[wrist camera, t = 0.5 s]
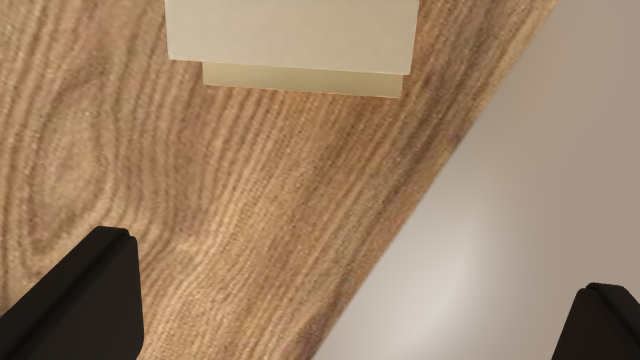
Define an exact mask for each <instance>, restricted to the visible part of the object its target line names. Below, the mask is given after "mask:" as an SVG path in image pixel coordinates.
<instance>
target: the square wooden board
mask: <svg viewBox="0 0 640 360" xmlns="http://www.w3.org/2000/svg"><path fill="white" fill-rule="evenodd" d="M202 74H203V84H204V85H212V86H227V87H241V88H256V89H270V90H285V91H299V92H314V93H329V94H343V95H358V96H372V97H387V98H400V97H401V92H402V84H403V76H404V75H398V74H383V73H368V72H353V71H338V70H323V69H308V68H293V67H278V66H263V65H248V64H233V63H218V62H203V61H202Z"/></svg>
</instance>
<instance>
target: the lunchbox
mask: <svg viewBox="0 0 640 360" xmlns="http://www.w3.org/2000/svg"><path fill="white" fill-rule="evenodd" d="M419 1H420V0H164V7H165V21H166V34H167V48H168V58H169V59H173V60H188V61H203V62H218V63H233V64H248V65H263V66H278V67H293V68H308V69H323V70H338V71H353V72H368V73H383V74H398V75H409V74H410V71H411V63H412V55H413V48H414V40H415V32H416V25H417V17H418V9H419Z"/></svg>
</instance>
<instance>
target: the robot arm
mask: <svg viewBox="0 0 640 360" xmlns="http://www.w3.org/2000/svg"><path fill="white" fill-rule="evenodd" d="M143 342H144V325H143V312H142V299H141V286H140V272H139V259H138V246H137V240H136V238H135V237H134V236H130V234H129V232H128V230H127V229H124V228H115V227H106V226H97V227H96V228H94V229H93V230H92V231H91V232H90V233H89V234H88V235H87V236H86V237H85V238H84V239H83V240H82V241H81V242H80V243H79V244H78V245H77V246H75V247H74V248H73V249H72V250H71V251H70V252H69V253H68V254H67V255H66V256H65V257H64V258H63V259H62V260H61V261H60V262H59V263H58V264H57V265H55V266H54V267H53V268H52V269H51V270H50V271H49V272H48V273H47V274H46V275H45V276H44V277H43V278H42V279H41V280H40V281H39V282H38V283H37V284H36V285H34V286H33V287H32V288H31V289H30V290H29V291H28V292H27V293H26V294H25V295H24V296H23V297H22V298H21V299H20V300H19V301H18V302H17V303H16V304H14V305H13V306H12V307H11V308H10V309H9V310H8V311H7V312H6V313H5V314H4V315H3V316H2V317H1V318H0V360H136V359H137V357H138V355H139V353H140V351H141V349H142V346H143ZM551 360H640V304H639V303H638V302H637V301H636V299H634V297H633V296H632V295H631V294H630V293H629V292H628V291H627V289H625V288H624V287H623V286H619V285H611V284H602V283H594V282H593V283H590V284H588V285H587V286H586V288H582V289H580V290H579V291H578V292H577V294H576V296H575V299H574V301H573V304H572V307H571V309H570V312H569V315H568V317H567V320H566V322H565V325H564V327H563V330H562V333H561V335H560V338H559V341H558V343H557V346H556V348H555V351H554V354H553V356H552V359H551Z"/></svg>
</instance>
